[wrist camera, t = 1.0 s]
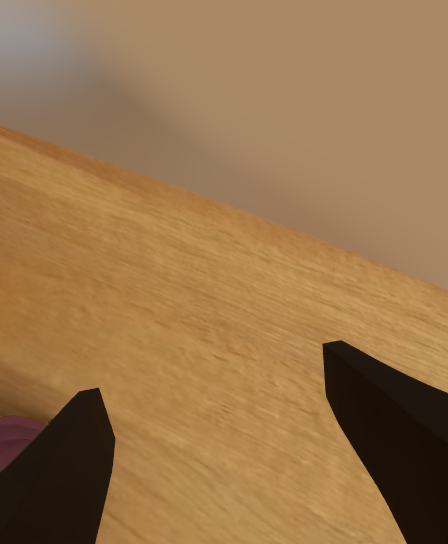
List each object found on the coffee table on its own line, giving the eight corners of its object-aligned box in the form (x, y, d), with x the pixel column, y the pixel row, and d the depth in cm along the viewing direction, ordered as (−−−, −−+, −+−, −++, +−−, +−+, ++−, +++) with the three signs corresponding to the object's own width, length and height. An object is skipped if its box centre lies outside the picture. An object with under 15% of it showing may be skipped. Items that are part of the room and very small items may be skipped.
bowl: (136, 475, 26) (123, 480, 21) (22, 662, 21) (-21, 712, 17) (18, 392, 28) (-13, 382, 24) (-108, 546, 23) (-174, 567, 19)
